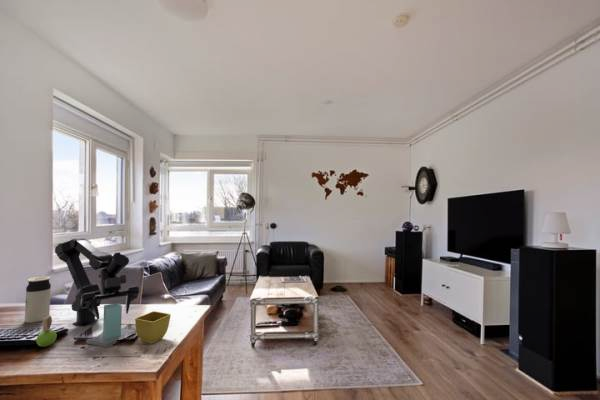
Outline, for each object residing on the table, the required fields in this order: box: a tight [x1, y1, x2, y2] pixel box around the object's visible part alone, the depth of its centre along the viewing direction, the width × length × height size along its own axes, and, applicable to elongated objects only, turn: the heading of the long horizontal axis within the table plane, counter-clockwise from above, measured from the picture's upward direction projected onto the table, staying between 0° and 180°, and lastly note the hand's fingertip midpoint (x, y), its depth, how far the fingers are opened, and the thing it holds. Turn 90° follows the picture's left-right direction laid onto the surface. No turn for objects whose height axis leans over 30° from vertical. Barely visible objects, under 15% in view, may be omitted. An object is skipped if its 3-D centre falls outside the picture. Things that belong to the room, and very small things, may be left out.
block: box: [102, 302, 123, 339], centre depth 108 cm, size 5×5×11 cm
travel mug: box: [24, 276, 52, 324], centre depth 125 cm, size 8×8×18 cm
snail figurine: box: [35, 315, 58, 348], centre depth 101 cm, size 5×6×12 cm
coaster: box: [85, 327, 136, 348], centre depth 108 cm, size 10×12×1 cm
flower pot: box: [134, 310, 171, 345], centre depth 107 cm, size 9×9×9 cm
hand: (113, 315), depth 107 cm, fingers open, 9 cm apart
